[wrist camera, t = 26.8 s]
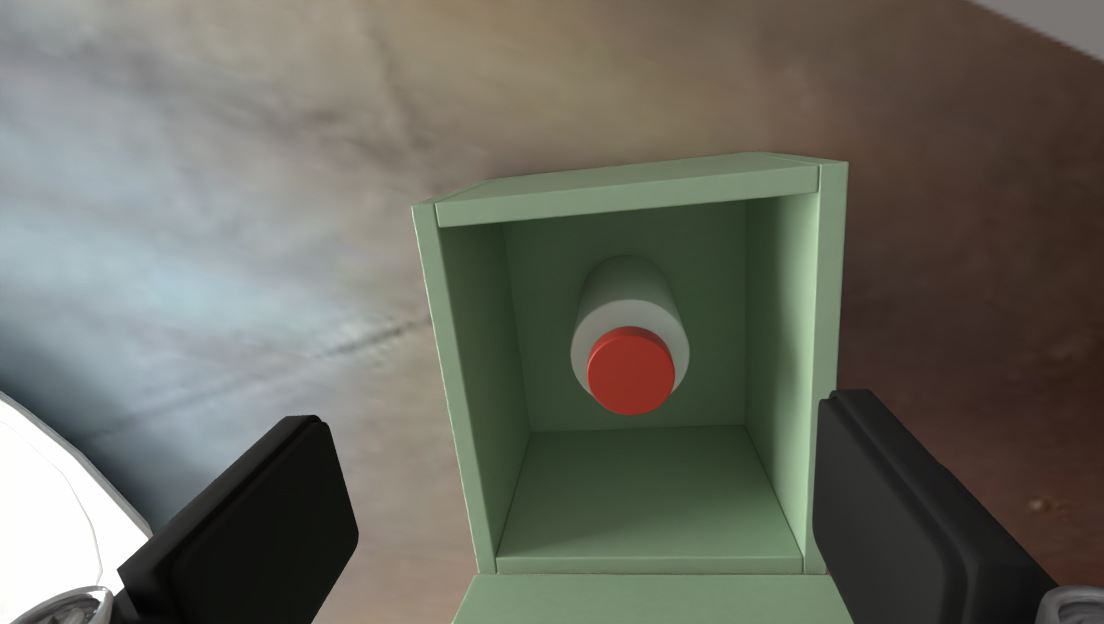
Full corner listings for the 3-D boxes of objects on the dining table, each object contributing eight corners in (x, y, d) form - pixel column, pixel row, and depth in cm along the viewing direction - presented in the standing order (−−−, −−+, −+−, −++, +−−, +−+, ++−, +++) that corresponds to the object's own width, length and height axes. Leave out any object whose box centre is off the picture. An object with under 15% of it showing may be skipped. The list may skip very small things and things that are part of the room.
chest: (484, 179, 27) (409, 205, 17) (758, 150, 25) (849, 161, 15) (521, 437, 31) (478, 574, 22) (756, 428, 29) (826, 574, 20)
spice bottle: (585, 251, 27) (571, 309, 18) (676, 259, 26) (706, 322, 17) (578, 334, 28) (561, 426, 19) (664, 343, 28) (686, 440, 19)
